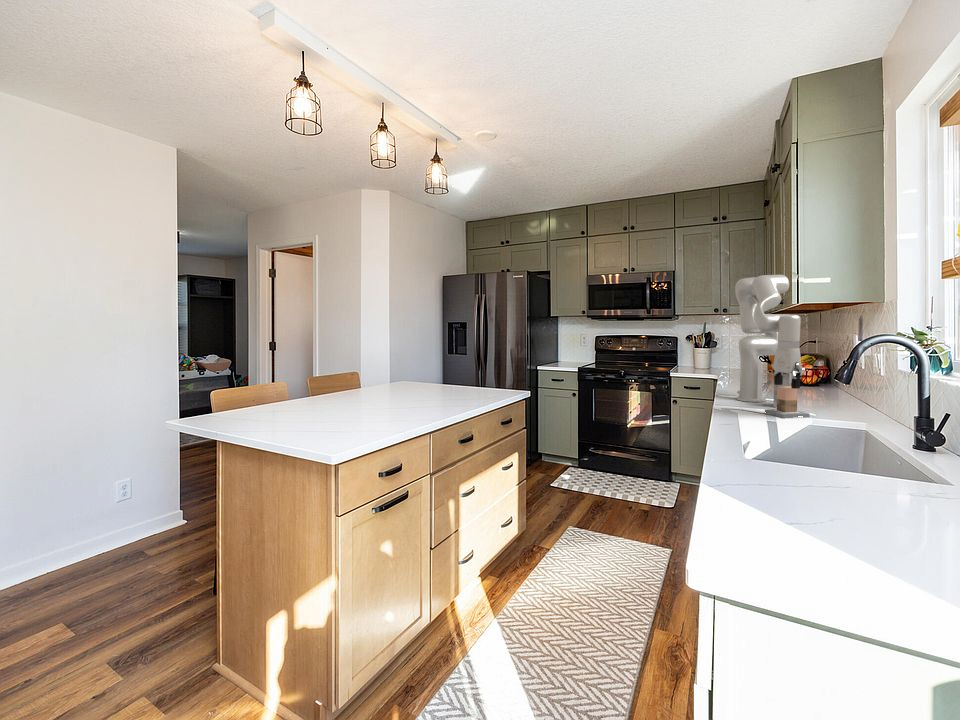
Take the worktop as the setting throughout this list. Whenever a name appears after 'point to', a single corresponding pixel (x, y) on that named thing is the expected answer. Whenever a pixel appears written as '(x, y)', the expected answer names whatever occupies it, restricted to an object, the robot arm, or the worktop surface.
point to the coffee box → (786, 382)
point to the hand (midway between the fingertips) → (786, 386)
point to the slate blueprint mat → (787, 415)
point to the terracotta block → (786, 393)
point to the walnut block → (786, 405)
